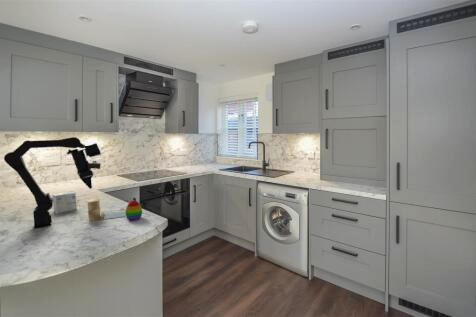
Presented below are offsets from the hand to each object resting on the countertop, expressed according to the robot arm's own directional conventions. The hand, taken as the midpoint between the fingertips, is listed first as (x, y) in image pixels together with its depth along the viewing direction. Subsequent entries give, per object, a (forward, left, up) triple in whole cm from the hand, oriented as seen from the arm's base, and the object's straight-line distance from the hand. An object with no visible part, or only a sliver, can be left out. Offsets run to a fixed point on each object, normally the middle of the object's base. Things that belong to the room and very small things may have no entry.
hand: (90, 187), depth 137 cm
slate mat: (+9, -7, -17) cm, 20 cm away
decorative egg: (+16, -20, -17) cm, 31 cm away
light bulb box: (-10, +26, -17) cm, 32 cm away
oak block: (+1, -4, -17) cm, 17 cm away
